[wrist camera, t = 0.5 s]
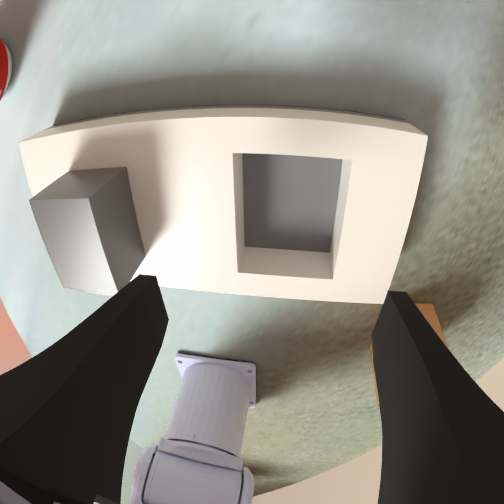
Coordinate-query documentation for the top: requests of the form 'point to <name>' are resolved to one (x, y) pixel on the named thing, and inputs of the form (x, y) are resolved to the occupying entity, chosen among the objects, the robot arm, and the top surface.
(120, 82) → the top surface
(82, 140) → the white slotted slab
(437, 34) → the top surface
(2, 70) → the beverage can
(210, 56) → the top surface
